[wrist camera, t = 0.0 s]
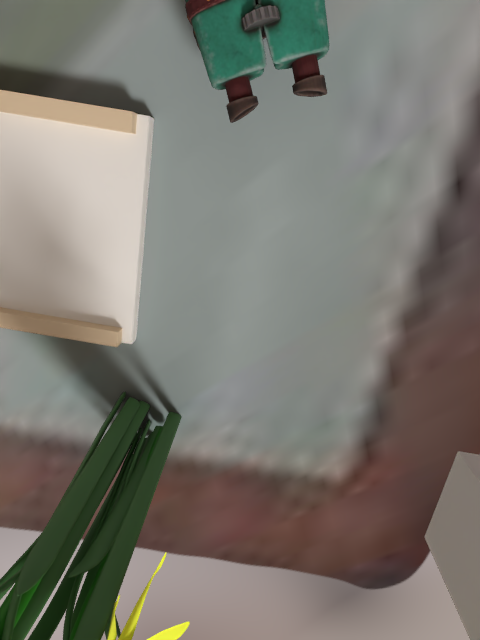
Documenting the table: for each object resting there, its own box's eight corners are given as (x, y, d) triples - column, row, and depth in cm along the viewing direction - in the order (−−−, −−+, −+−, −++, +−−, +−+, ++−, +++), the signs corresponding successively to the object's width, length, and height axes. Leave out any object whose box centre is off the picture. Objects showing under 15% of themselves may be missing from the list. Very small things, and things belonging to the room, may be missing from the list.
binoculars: (224, 138, 35) (208, 123, 25) (187, -6, 32) (154, -86, 22) (330, 107, 34) (354, 78, 24) (302, -46, 31) (318, -148, 21)
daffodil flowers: (243, 381, 42) (157, 1137, 9) (204, 493, 47) (52, 1260, 13) (81, 331, 41) (-674, 946, 8) (58, 450, 46) (-480, 1144, 13)
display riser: (-81, 79, 35) (-108, 71, 32) (154, 118, 35) (145, 113, 32) (-62, 305, 41) (-84, 313, 39) (136, 338, 41) (127, 349, 39)
